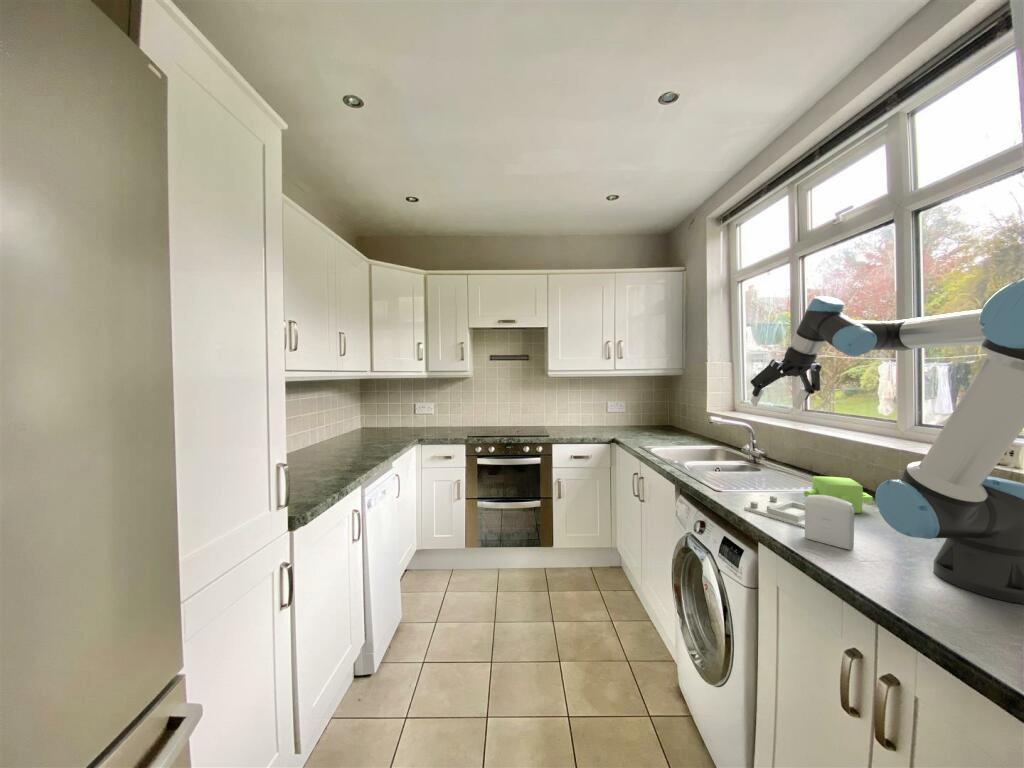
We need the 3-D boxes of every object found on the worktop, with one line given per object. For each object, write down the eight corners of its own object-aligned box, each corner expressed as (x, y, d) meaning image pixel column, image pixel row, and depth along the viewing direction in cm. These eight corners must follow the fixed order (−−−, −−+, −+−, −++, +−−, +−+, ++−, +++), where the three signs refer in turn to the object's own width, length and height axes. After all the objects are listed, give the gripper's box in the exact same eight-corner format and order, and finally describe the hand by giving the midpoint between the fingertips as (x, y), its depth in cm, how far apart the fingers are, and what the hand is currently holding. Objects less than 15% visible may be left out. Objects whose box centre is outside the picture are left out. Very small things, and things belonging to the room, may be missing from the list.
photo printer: (801, 538, 106) (803, 493, 105) (806, 534, 108) (808, 490, 108) (851, 552, 98) (853, 503, 97) (855, 547, 100) (856, 499, 100)
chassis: (849, 523, 117) (849, 514, 117) (824, 533, 109) (824, 525, 109) (770, 501, 136) (770, 494, 136) (744, 509, 128) (744, 502, 128)
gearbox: (809, 511, 128) (809, 483, 127) (796, 501, 137) (797, 474, 137) (876, 517, 123) (877, 487, 122) (859, 505, 132) (860, 478, 131)
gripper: (839, 344, 118) (807, 400, 130) (755, 340, 119) (731, 395, 131) (855, 357, 112) (820, 414, 124) (767, 352, 113) (740, 409, 125)
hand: (774, 405), depth 128 cm, fingers open, 13 cm apart
